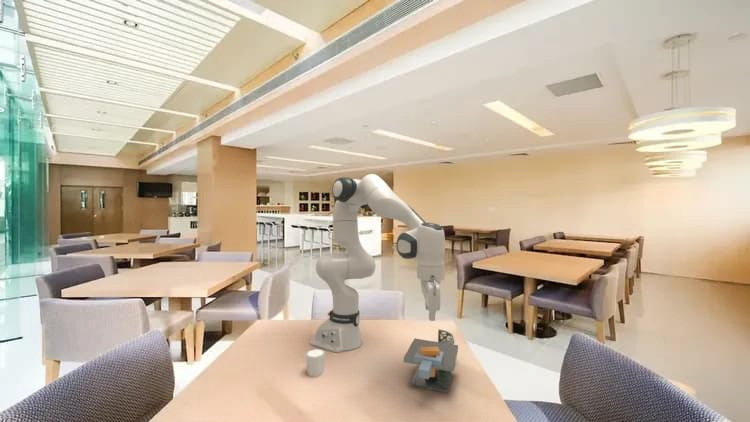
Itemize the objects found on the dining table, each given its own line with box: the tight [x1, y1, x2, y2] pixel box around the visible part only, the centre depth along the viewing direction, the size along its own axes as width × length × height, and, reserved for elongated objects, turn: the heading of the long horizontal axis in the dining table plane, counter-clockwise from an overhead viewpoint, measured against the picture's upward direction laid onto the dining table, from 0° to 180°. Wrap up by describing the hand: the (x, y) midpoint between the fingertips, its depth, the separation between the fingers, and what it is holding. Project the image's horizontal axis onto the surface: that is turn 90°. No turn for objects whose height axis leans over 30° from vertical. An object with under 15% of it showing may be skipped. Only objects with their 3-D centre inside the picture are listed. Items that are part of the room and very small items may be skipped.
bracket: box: [414, 348, 444, 379], centre depth 98 cm, size 8×13×3 cm, turn 160°
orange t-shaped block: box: [420, 347, 440, 377], centre depth 101 cm, size 6×3×8 cm, turn 92°
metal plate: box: [403, 338, 459, 395], centre depth 106 cm, size 16×16×10 cm
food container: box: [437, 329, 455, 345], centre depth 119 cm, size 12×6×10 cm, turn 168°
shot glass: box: [305, 348, 326, 377], centre depth 110 cm, size 7×7×7 cm
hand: (429, 314), depth 101 cm, fingers open, 8 cm apart
